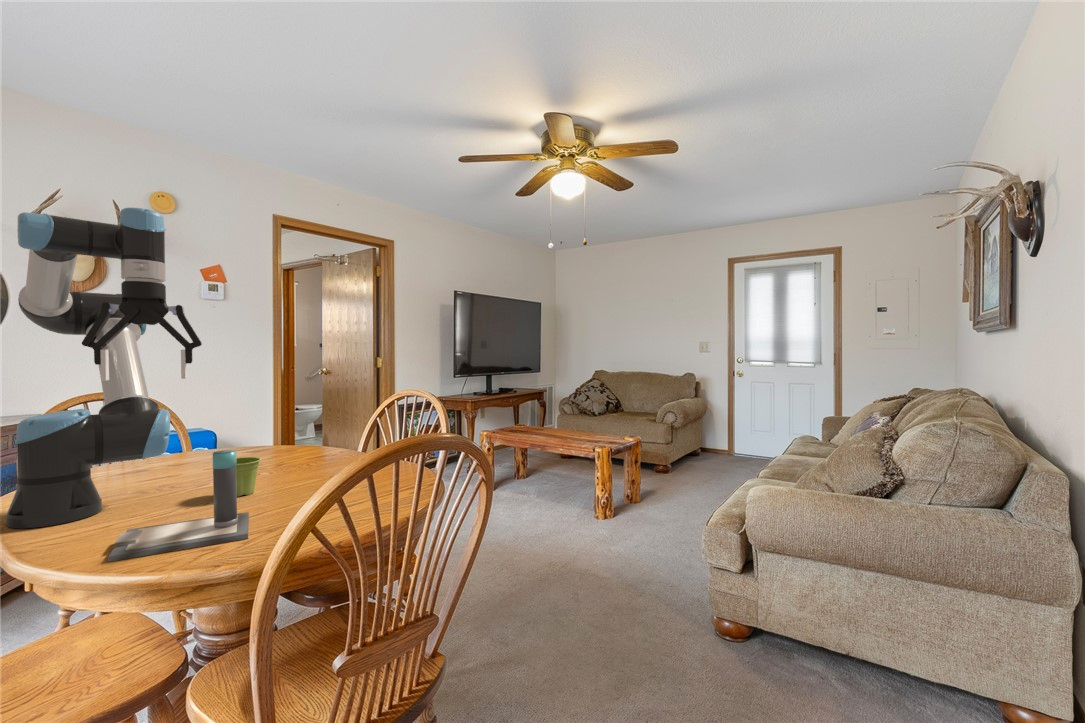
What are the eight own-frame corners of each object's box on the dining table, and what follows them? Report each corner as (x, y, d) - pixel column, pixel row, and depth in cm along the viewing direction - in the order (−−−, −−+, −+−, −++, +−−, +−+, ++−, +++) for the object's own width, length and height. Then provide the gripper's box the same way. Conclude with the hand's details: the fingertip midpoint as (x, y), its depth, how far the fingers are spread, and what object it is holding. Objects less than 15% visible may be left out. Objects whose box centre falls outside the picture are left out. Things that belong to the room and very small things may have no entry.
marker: (212, 529, 99) (211, 454, 99) (214, 523, 102) (213, 451, 102) (236, 526, 101) (235, 452, 101) (238, 520, 104) (236, 449, 104)
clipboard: (108, 561, 87) (108, 551, 87) (127, 534, 100) (127, 525, 100) (248, 538, 97) (247, 529, 97) (248, 516, 110) (248, 508, 110)
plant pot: (231, 489, 132) (231, 456, 132) (268, 488, 133) (267, 456, 133) (210, 499, 123) (209, 465, 123) (250, 498, 123) (249, 464, 123)
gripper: (60, 275, 98) (63, 382, 99) (211, 283, 111) (213, 378, 111) (72, 280, 105) (74, 380, 105) (213, 287, 117) (215, 376, 118)
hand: (145, 379), depth 108 cm, fingers open, 13 cm apart
